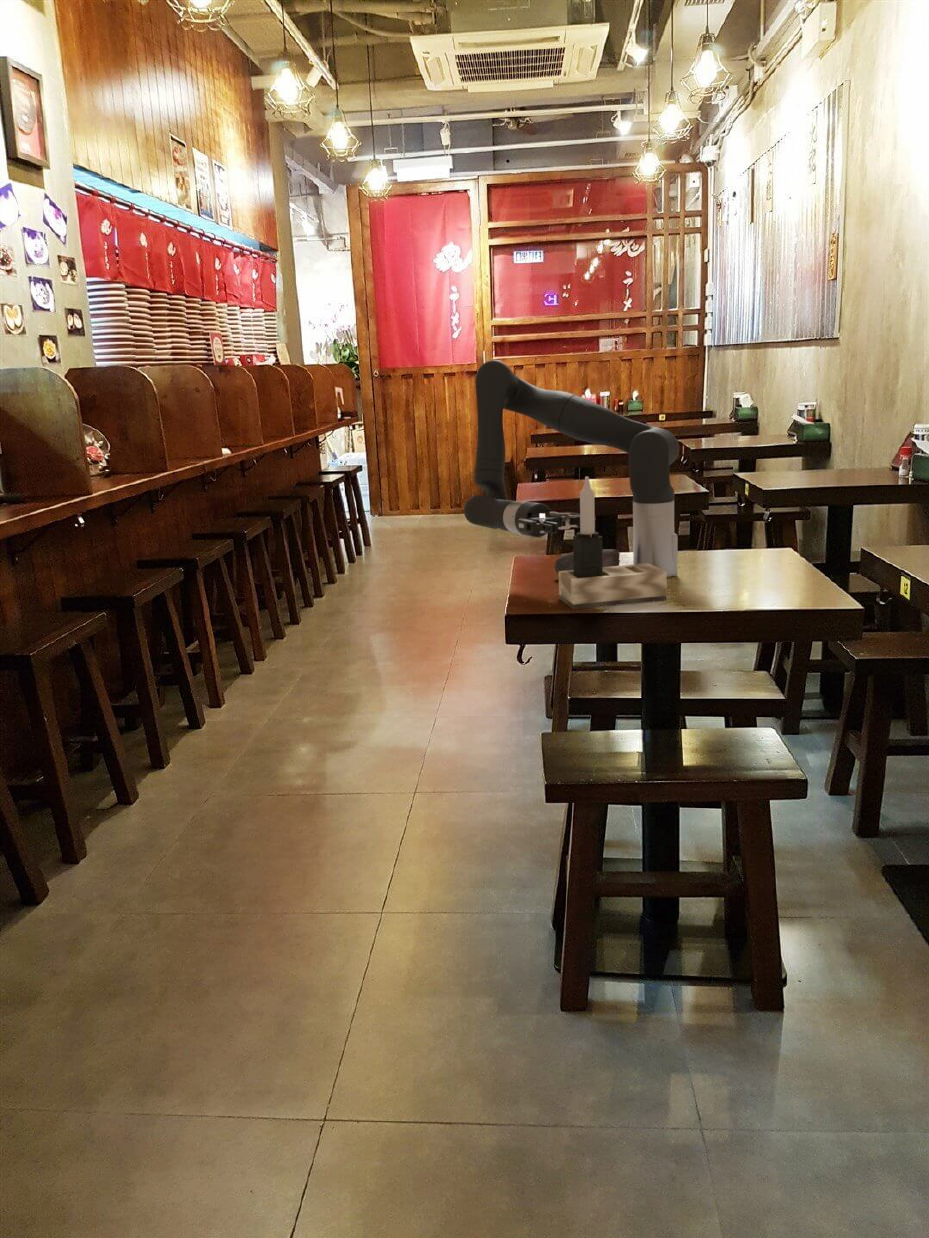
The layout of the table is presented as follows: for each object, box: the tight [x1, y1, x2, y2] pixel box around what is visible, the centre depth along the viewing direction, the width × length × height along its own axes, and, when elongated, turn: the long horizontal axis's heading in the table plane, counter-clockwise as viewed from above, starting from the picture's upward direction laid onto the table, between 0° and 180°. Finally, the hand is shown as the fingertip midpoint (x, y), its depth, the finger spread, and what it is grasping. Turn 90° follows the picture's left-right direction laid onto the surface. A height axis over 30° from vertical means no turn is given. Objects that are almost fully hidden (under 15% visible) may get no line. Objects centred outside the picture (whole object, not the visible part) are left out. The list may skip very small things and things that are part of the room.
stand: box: [558, 563, 668, 610], centre depth 201 cm, size 20×10×6 cm, turn 101°
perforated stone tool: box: [554, 548, 621, 575], centre depth 223 cm, size 15×5×7 cm, turn 75°
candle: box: [572, 476, 603, 578], centre depth 198 cm, size 5×5×25 cm
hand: (573, 526), depth 201 cm, fingers open, 8 cm apart
